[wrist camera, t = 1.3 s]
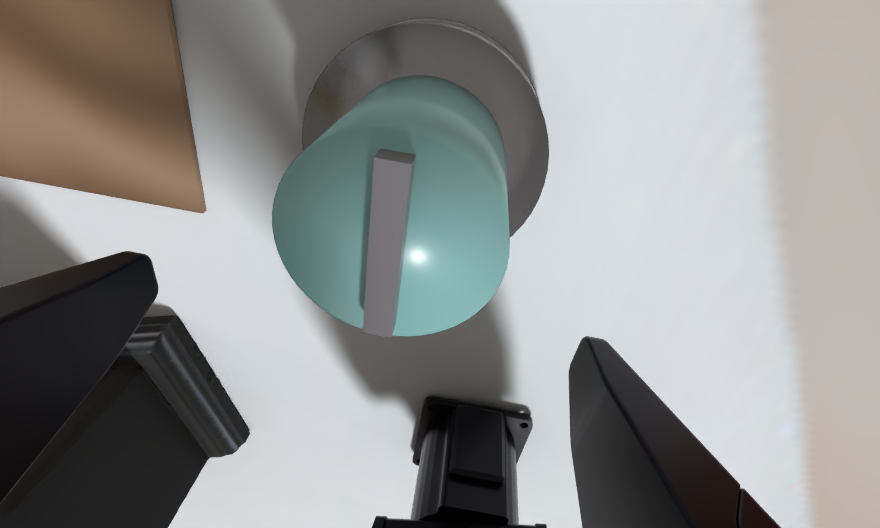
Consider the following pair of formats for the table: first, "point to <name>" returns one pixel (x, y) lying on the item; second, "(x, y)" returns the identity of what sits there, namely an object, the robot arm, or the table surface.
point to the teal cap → (399, 210)
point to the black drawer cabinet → (131, 440)
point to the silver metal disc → (459, 61)
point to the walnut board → (97, 100)
